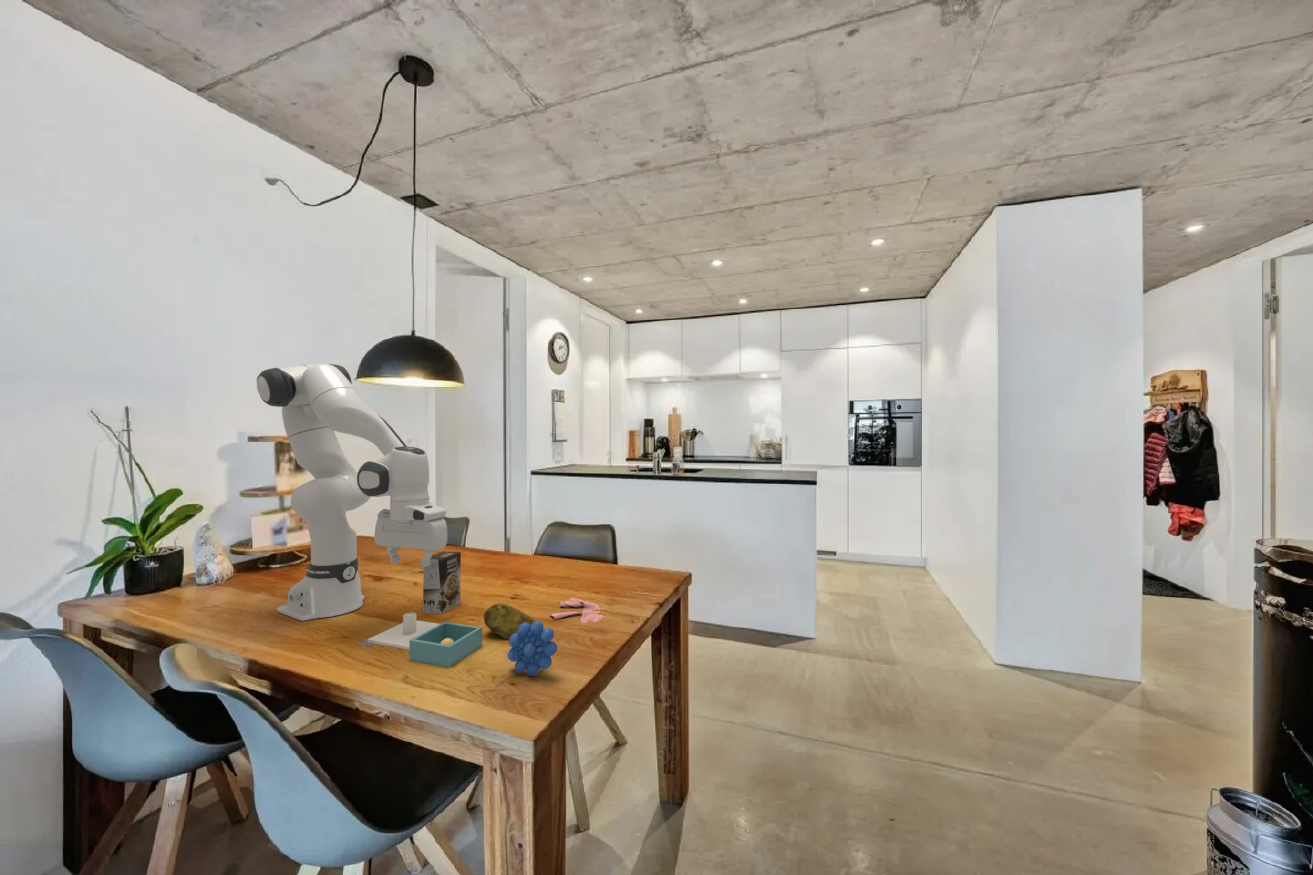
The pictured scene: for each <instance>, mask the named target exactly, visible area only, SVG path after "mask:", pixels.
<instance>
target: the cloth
mask: <svg viewBox="0 0 1313 875" xmlns="http://www.w3.org/2000/svg"><path fill="white" fill-rule="evenodd" d="M572 601H573V602H572ZM558 603H559V608H560V609H561V608H567V609H576V608H578V609H583V610H582V611H565V612H556V613H552V614H550V615H549V617H552V618H553V619H554V621H557V620H560V619H565V618H571V617H572V618H574V617H581V618H580V620H579V622H580V623H581V624H588V623H589V621H593V622H597V621H598V622H599V621H601V620H602V619H604V617H605V616H603V615H598V614H597V613H600V611H592V610H597V609H598V610H600V609H602V607H600V606H599V605H598V604H596V603H594V602H591V601H587V600H584V599H582V598H581V599H580V598H576V597H571V598H569V599H568V600H564V601H563V600H560V601H559V602H558ZM599 607H600V608H599ZM581 621H582V622H581ZM587 622H588V623H587ZM593 622H592V623H593ZM598 622H597V623H598Z"/></svg>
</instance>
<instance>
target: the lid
mask: <svg viewBox="0 0 1313 875" xmlns="http://www.w3.org/2000/svg"><path fill="white" fill-rule="evenodd" d="M440 624H441V623H437V622H436V623H435V622H429V621H423V620H417V612H415V611H414V612H413V611H411V612H406V613H403V615H402V622H401V623H399V624H398V625H395V626H392V627H390V628H388V629H387V630H383V631H382V632H380V633H378V634H376V635H374V636H371V637H369V638H367V639H366V640H367V643H372V644H373V645H375V644H376V645H381V646H382V645H383V646H388V647H394V648H399V649H405V650H409V640H411V639H413V638H415V637H417V636H419V635H421V634H423V633H424V632H426V631H428V630H430V629H432V628H434V627H436V626H438V625H440Z"/></svg>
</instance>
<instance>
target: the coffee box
mask: <svg viewBox="0 0 1313 875" xmlns="http://www.w3.org/2000/svg"><path fill="white" fill-rule="evenodd" d="M461 554H462V553H461V551H440V552H437V553H435V554H433V555H432V557H431V558H430V565H429V566H427V567H423V580H422V581H423V585H422V591H423V594H422V595H423V596H422V597H423V598H422V613H425V614H433V615H436V614H443V613H446V612H448V611H450V610H451V609H454V608H455V607H457V606H460V605H461V587H462V586H461V581H462V580H461V570H462V569H461V568H462V567H461V563H462V562H461V561H462V560H461V557H462V556H461Z"/></svg>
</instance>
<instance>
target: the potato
mask: <svg viewBox="0 0 1313 875" xmlns="http://www.w3.org/2000/svg"><path fill="white" fill-rule="evenodd" d="M483 621H484V625H486V627H487V628H488V629H489V630H490V632H492V633H494V634H496V635H498V636H499V637H501V638H502V639H505V640H509V638H510V637H511V635H512V634H514V633H518V631H517V630H518V627H519V626H520V625H521V624H522V623H528V624H530V626H531V624H532V623H533V622H534V621H536V620H535V619H534V618H533V617H531V616H530V615H528V614H526V613H525V612H522V611H521V610H519V609H517V608H515V607H513V606H512V605H509V604H507V603H497V604H493V605H492V606H490V607H488V608H487V609H486V610H485V612H484V614H483Z"/></svg>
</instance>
